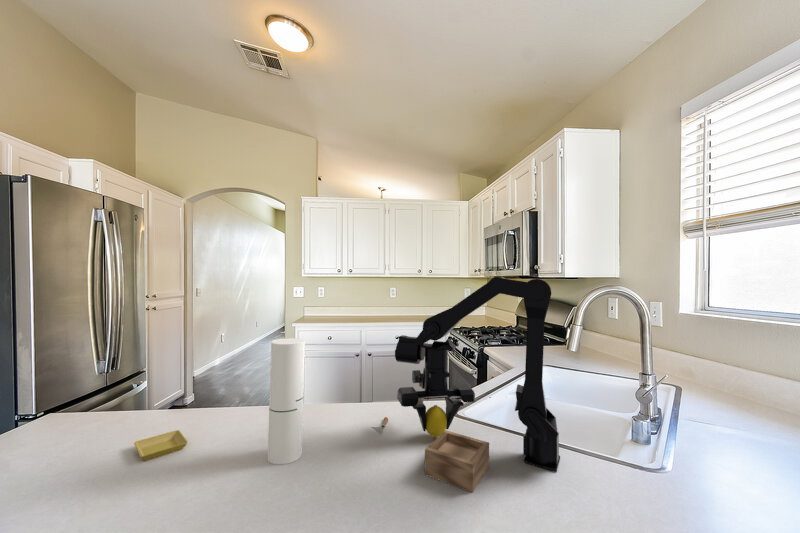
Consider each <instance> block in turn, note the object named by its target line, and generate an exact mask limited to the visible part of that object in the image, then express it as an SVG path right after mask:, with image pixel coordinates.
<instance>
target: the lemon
mask: <svg viewBox="0 0 800 533" xmlns="http://www.w3.org/2000/svg"><path fill="white" fill-rule="evenodd" d="M446 427H447V418H446V411H445V410H444V409H443V408H442V407H441V406H438V405H437V404H434V405H433V406H430V407H429V408H428V409H426V432H427V433H428V434H429V435H430V436H432V437H433V438H434V439H437V438H438V437H439V436H440V435H441V434H442V433H443V432H444V431H447V429H446Z"/></svg>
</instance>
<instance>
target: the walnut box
mask: <svg viewBox="0 0 800 533" xmlns="http://www.w3.org/2000/svg"><path fill="white" fill-rule="evenodd" d="M489 468H490V442H488V441H485V440H481V439H478V438H473V437H472V436H467V435H464V434H460V433H456V432H453V431H449V430H445V431H444V432H443V433H442V434H441V435H440V436H438V437H437V438H435V440H433V441H432V442H431V443H430V444H429V445H428V446H426V448H425V449H424V475H425V476H427V475H428V476H427V477H430V476H431V477H430V478H433V477H434V478H433V479H435V478H436V480H438V479H439V480H438V481H440V482H441V481H442V482H443V481H444V483H446V484H448V483H449V484H448V485H451V486H454V487H455V488H456V487H457V488H460V489H462V490H464V491H468V492H470V493H474V491H475V490H476V488H477V487H478V485H479V483H480V482H481V480H482V479H483V477H484V476H485V474H486V473H487V471H488V469H489Z"/></svg>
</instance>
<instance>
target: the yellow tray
mask: <svg viewBox="0 0 800 533" xmlns="http://www.w3.org/2000/svg"><path fill="white" fill-rule="evenodd" d="M188 443H189V441H188V439H187V438H186V437H185V436H184V435H183V434H182V432H181V430H180V429H178V430H174V431H169V432H165V433H161V434H158V435H155V436H150V437H148V438H143V439H140V440H137V441H134V443H133V444H134V446H135V448H136V450H137V452H138V455H139V457H140V458H141V460H142V461H145V462H148V461H150V460H154V459H157V458H159V457H163V456H167V455H169V454H174V453H175V452H179V451H182V450H183V449H184V448H185V447H186V446H187V445H188Z"/></svg>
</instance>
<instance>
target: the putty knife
mask: <svg viewBox="0 0 800 533" xmlns="http://www.w3.org/2000/svg"><path fill="white" fill-rule="evenodd" d="M388 421H389V418H388V417H387V416H385V417H384V418H383V420H382V423H381V426H370V428H371V429H372V430H374V431H375V432H376V433H377V434H378V435H381V436H382V435H383V433H384V430H385V428H386V425H387V423H388Z"/></svg>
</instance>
